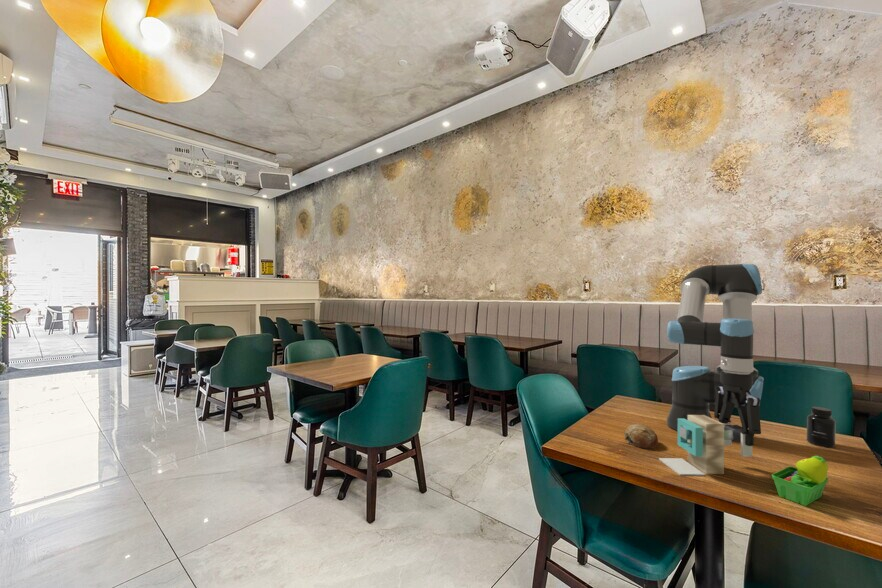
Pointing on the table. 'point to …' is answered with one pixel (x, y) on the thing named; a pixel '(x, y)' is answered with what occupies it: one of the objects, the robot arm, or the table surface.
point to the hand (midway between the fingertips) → (735, 450)
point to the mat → (681, 466)
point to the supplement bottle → (821, 427)
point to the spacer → (697, 437)
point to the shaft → (729, 433)
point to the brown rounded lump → (641, 436)
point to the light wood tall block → (709, 445)
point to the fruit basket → (802, 480)
